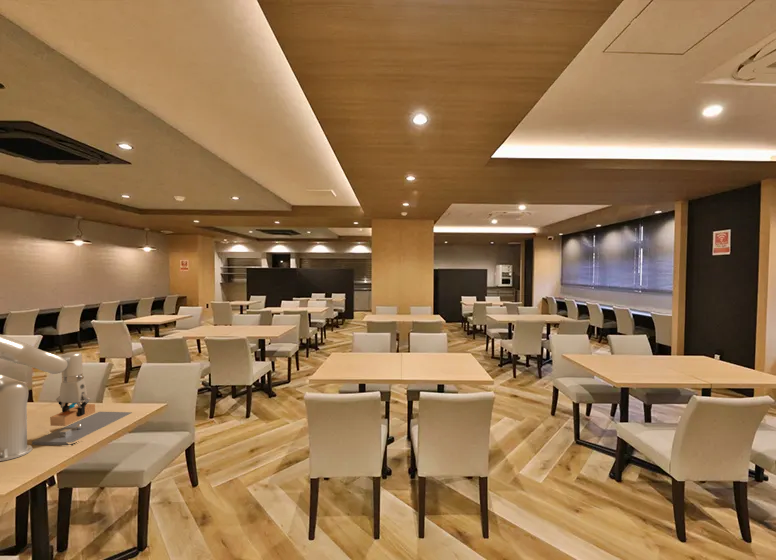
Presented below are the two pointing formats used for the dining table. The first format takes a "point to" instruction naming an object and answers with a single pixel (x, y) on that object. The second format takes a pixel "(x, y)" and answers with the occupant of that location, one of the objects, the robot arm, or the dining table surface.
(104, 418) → the board
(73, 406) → the blue branched piece
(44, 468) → the dining table surface
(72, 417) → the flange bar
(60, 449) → the dining table surface
